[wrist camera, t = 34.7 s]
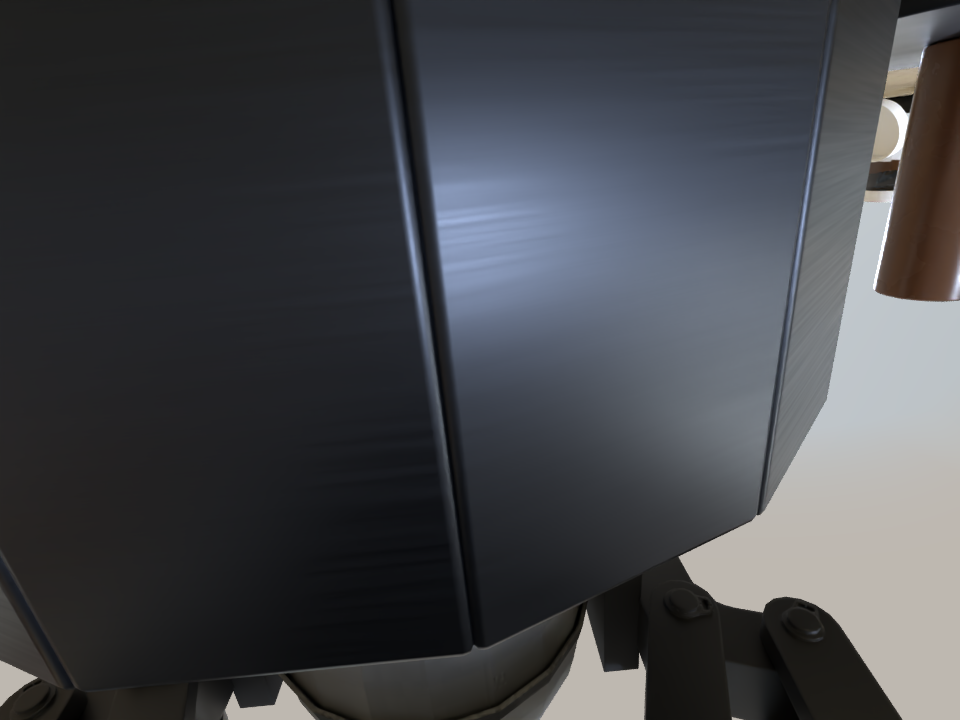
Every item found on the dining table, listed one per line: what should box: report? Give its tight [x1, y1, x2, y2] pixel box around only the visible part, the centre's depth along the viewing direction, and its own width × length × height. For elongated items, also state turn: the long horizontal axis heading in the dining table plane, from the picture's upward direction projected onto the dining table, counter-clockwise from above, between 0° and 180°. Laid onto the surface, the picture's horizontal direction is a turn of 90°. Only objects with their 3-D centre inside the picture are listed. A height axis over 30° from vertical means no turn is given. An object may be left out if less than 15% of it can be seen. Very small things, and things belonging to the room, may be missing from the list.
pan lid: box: [874, 0, 960, 302], centre depth 16 cm, size 14×14×9 cm
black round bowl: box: [0, 0, 901, 692], centre depth 8 cm, size 13×13×6 cm
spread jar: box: [864, 96, 913, 202], centre depth 60 cm, size 12×11×12 cm
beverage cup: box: [278, 601, 588, 720], centre depth 11 cm, size 7×7×20 cm
